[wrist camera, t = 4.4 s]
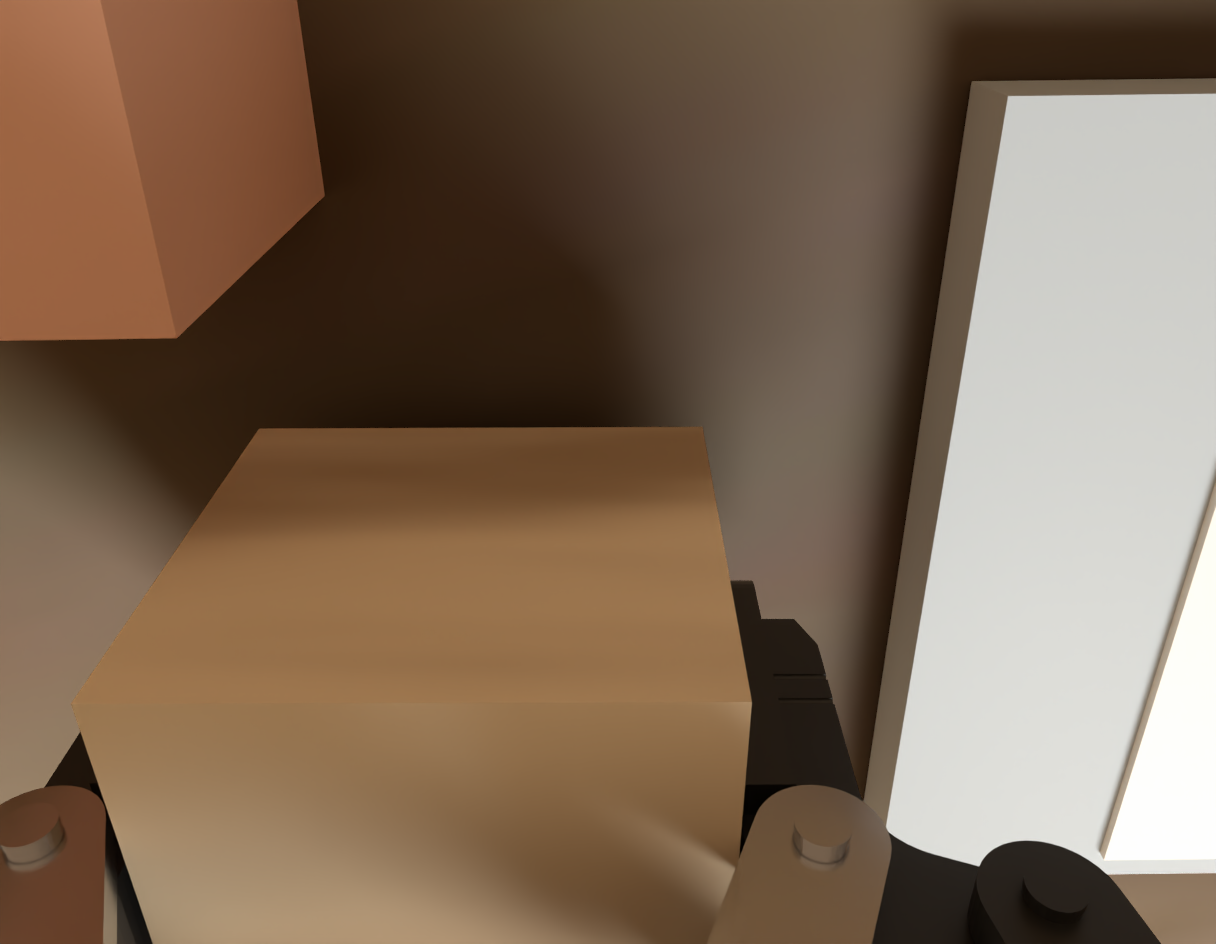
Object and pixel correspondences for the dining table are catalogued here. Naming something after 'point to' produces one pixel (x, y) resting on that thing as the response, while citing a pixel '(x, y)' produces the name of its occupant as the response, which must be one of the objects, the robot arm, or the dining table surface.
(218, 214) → the terracotta block
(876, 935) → the robot arm
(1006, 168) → the build board
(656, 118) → the dining table surface
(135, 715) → the beech block
